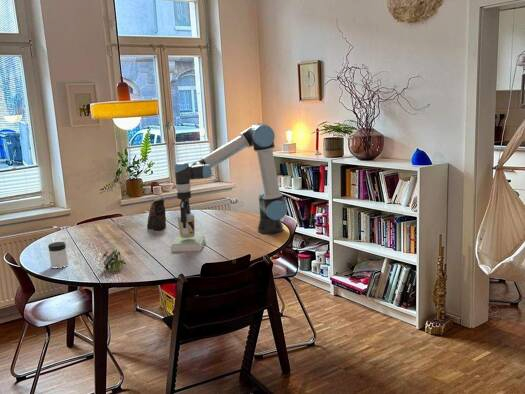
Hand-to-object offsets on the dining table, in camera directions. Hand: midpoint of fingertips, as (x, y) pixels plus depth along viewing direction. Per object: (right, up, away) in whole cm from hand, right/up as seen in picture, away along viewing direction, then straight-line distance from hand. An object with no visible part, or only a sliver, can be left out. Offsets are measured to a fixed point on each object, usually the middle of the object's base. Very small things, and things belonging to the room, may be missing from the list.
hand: (187, 231), depth 278 cm
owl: (-26, -1, +45) cm, 52 cm away
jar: (-62, -17, -20) cm, 67 cm away
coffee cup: (0, -3, +1) cm, 3 cm away
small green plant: (-32, -17, -28) cm, 45 cm away
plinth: (+1, -9, +2) cm, 9 cm away
